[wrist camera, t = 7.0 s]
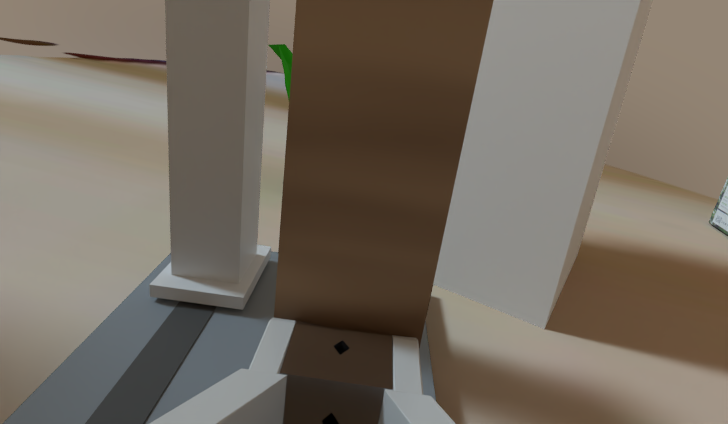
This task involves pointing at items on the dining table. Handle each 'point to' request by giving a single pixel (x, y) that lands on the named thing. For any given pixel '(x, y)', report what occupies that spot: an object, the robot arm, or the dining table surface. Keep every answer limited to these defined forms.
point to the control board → (159, 357)
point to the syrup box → (721, 211)
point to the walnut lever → (373, 157)
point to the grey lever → (215, 149)
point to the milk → (536, 148)
